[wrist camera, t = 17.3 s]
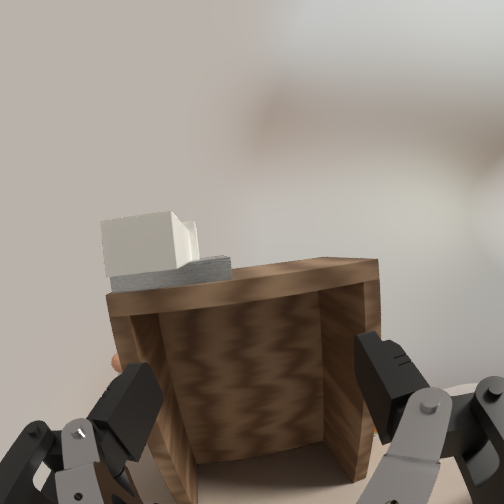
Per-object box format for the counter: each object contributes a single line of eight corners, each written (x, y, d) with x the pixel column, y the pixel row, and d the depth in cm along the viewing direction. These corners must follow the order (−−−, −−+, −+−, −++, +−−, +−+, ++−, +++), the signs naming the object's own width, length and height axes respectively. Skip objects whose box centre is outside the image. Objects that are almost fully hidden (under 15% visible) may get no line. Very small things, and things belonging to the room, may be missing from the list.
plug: (200, 257, 36) (196, 227, 35) (188, 267, 14) (180, 190, 14) (161, 262, 35) (158, 232, 35) (96, 278, 13) (90, 204, 13)
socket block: (224, 271, 35) (222, 255, 35) (232, 279, 24) (230, 256, 24) (141, 280, 33) (139, 265, 33) (112, 293, 22) (109, 271, 22)
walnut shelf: (330, 432, 40) (323, 256, 39) (365, 477, 26) (377, 258, 26) (185, 459, 36) (141, 279, 35) (184, 516, 22) (105, 294, 21)
